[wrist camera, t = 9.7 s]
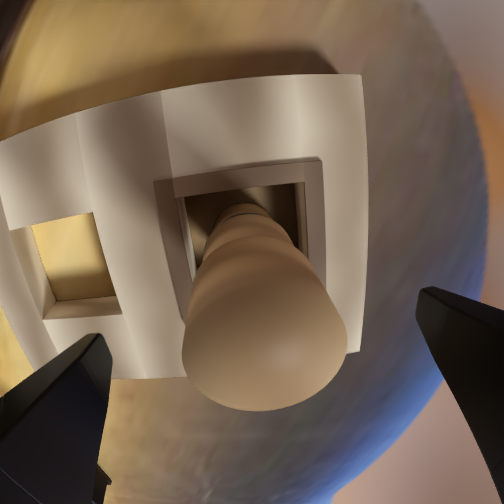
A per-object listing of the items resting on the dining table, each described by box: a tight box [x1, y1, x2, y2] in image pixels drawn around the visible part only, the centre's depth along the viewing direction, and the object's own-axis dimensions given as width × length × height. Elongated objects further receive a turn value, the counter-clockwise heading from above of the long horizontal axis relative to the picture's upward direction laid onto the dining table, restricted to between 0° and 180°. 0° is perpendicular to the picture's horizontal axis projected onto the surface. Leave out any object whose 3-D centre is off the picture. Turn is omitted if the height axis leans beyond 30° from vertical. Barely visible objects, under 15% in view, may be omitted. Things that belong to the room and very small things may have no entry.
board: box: [0, 74, 368, 379], centre depth 14 cm, size 20×14×2 cm
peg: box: [182, 203, 347, 411], centre depth 11 cm, size 4×4×9 cm
